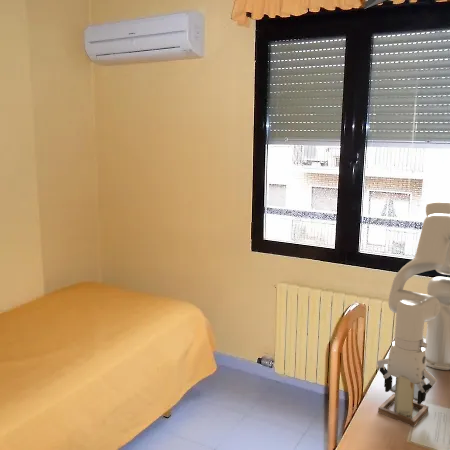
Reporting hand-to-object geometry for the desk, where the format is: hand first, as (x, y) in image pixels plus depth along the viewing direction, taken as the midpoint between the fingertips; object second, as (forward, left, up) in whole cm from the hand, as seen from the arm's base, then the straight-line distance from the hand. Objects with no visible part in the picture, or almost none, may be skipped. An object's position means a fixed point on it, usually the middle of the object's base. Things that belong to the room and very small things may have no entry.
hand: (404, 396), depth 141 cm
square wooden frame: (0, 0, -5) cm, 5 cm away
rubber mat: (-14, -4, -5) cm, 15 cm away
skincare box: (0, 0, -5) cm, 5 cm away
